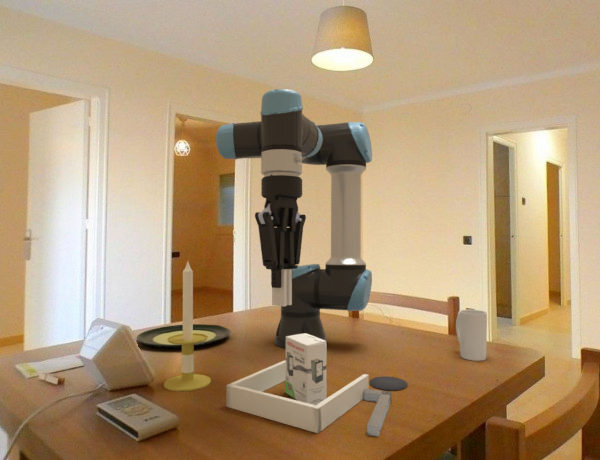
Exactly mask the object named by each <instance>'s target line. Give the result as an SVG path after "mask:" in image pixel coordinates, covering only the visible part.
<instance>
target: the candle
mask: <svg viewBox="0 0 600 460" xmlns="http://www.w3.org/2000/svg"><path fill="white" fill-rule="evenodd" d="M193 279H194V270H192V267H191V265H190V262H189V261H187V262H186V264H185V268H184V269H183V270H182V325H183V334H179V335H174V336H171V337H169V338H168V339H167V340H168V342H169V343H172V344H180V345H182V348H181V374H180V375H176V376H173V377H170V378H168V379H166V380H165V381H164V383H163V387H164V388H165V389H166V390H169V391H172V392H173V391H174V392H190V391H196V390H200V389H204V388H206V387H207V386H209V385H211V382H212V379H211V378H210V377H209V376H207V375H205V374H199V373H195V372H194V370H195V369H194V367H195V362H194V360H195V359H194V358H195V357H194V355H195V353H194V349H195V346H194V344H196V343H200V342H203V341H205V340H207V338H208V336H206V335H204V334H198V333H193V324H194V323H193V321H194V296H193V295H194V287H193V286H194V280H193Z"/></svg>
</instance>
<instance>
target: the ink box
mask: <svg viewBox="0 0 600 460" xmlns="http://www.w3.org/2000/svg"><path fill="white" fill-rule="evenodd" d="M327 347H328V346H327V340H326V341H325V340H323V339H320V338H318V337H315V336H312V335H309V334H307V333H303V334H297V335H291V336H286V348H285V359H284V360H285V381H284V383H285V384H284V393H285V394H286V395H288V396H290V397H292V399H293V400H297V401H301V402H305V403H309V404H313V405H317V404H319V403H320V402H322V401H323V400H325V399H326V398H328V397H327V395H328V394H327V391H328V390H327V366H328V365H327V360H328V359H327V357H328V356H327V354H328V353H327V349H328V348H327Z"/></svg>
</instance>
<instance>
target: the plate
mask: <svg viewBox="0 0 600 460" xmlns="http://www.w3.org/2000/svg"><path fill="white" fill-rule="evenodd" d="M193 333H198V334H204V335H206V336H208V338H207V340H205V341H203V342H200V343H196V344H194V347H200V346H205V345H210V344H213V343H217V342H219V341H222V340H224V339H225V338H227V337H229V336H230V335H231V333H232V332H231V330H230V328H227V327H226V326H221V325H218V324H206V323H205V324H200V323H198V324H197V323H196V324H194V323H193ZM179 334H183V324H176V325H168V326H161V327H157V328H153V329H148V330H145V331H143V332H140V333H138V335H137V336H136V341H138V342H139V343H141V344H143V345H146V346H149V347H155V348H167V349H169V348H170V349H172V348H173V349H177V348H180V349H182V345H180V344H172V343H169V342H168V340H167V339H168V338H169V337H171V336H174V335H179Z"/></svg>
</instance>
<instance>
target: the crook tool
mask: <svg viewBox="0 0 600 460" xmlns="http://www.w3.org/2000/svg"><path fill="white" fill-rule="evenodd" d="M363 400H364V401H366V402H372V403H373V402H375V403H376V404H375V407H374V409H373V411H372V413H371V415H370V418H369V420H368V422H367V425H366V435H367V436H371V437H377V438H379V437H380V433H381V431H382V429H383V425H384V423H385V419H386V416H387V415H388V414H387V413H388V411H389V409H390V405H391V404H392V403H391V402H392V391H386V390H380V389H371V388H369V389H366V390H365V391H364V399H363Z"/></svg>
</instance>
